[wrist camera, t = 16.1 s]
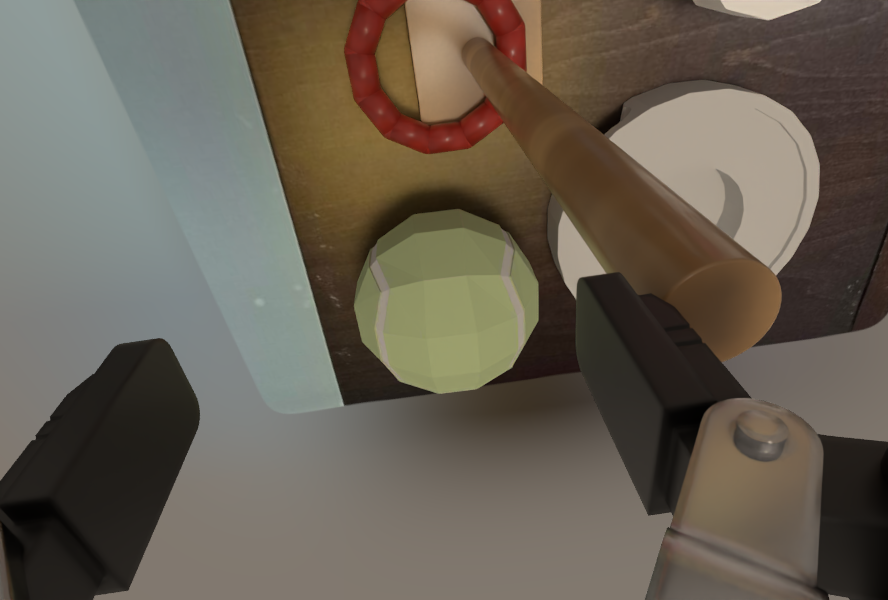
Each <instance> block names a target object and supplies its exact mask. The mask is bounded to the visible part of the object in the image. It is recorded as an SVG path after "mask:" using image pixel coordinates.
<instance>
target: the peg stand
mask: <svg viewBox="0 0 888 600" xmlns="http://www.w3.org/2000/svg"><path fill="white" fill-rule="evenodd" d="M512 2H513V3H514V5H515V7H516V9H517V10H518V12H519V14H520V15H521V17H522V19H523V21H524V23H525V30H526V59H527V72H525V71H524V70H523V69H522V68H521V67H519V66H518V65H517V64H516V63H514V62H513V61H512V60H511V59H509V58H508V57H507V56H506V55H504V54H503V53H502V52H501V51H499V50H498V49H497V48H496V36H495V35H494V33H493V31H492V30H491V28H490V27H489V25H488V23H487V22H486V20H485V19H484V17H483V15H482V14H481V12H480V11H479V9H478V7H477V6H475V5H473V4H471V3H469V2H467V1H465V0H407V1H406V2H405V3H404V4H405V11H406V18H407V25H408V32H409V39H410V46H411V53H412V60H413V67H414V74H415V81H416V88H417V95H418V102H419V109H420V116H421V122H423V123H425V124H427V125H435V124H443V123H450V122H457V121H460V120H462V119H463V118H464V117H465V116H467V115H468V114H469V113H470V112H472V111H473V110H474V109H476V108H477V107H478V106H479V105H481V104H482V103H483V102H484V101H485V99H486V97H487V98H488V100H489V101H490V103H491V104H492V106H493V107H494V109H495V110H496V112H497V113H498V115H499V116H500V118H501V119H502V120H503V122H504V123H505V125H506V126H507V128H508V129H509V131H510V132H511V134H512V135H513V137H514V138H515V140H516V141H517V143H518V144H519V146H520V147H521V148H522V150H523V151H524V153H525V154H526V156H527V157H528V159H529V160H530V162H531V163H532V165H533V166H534V168H535V169H536V171H537V172H538V174H539V175H540V177H541V178H542V179H543V181H544V182H545V184H546V185H547V187H548V188H549V190H550V191H551V193H552V194H553V196H554V197H555V199H556V200H557V202H558V203H559V205H560V206H561V207H562V209H563V210H564V212H565V213H566V215H567V216H568V218H569V219H570V221H571V222H572V224H573V225H574V227H575V228H576V230H577V231H578V233H579V234H580V236H581V237H582V238H583V240H584V241H585V243H586V244H587V246H588V247H589V249H590V250H591V252H592V253H593V255H594V256H595V258H596V259H597V261H598V262H599V264H600V265H601V266H602V268H603V269H604V271H605V272H606V274H607V273H614V272H620V273H621V274H622V275H623V276H624V277H625V279H626V280H627V281H628V283H629V284H630V285H631V287H632V288H633V289H634V291H635V292H636V293H637V295H643V294H650V293H652V294H653V295H655V296H657V297H659V298H660V299H662V300H664V301H666V302H667V303H669V304H671V305H673V306H674V307H675V308H676V309H677V310H678V311H679V312H680V314H681V315H682V316H683V317H684V318H685V319H686V321H687V322H688V323H689V324H690V328H693V329H694V330H695V331H696V333H697V334H698V335H699V336H700V337H701V339H702V343H706V344H707V346H708V347H709V348H710V349H711V350H712V352H713V353H714V354H715V355H716V356H717V358H718V359H719V360H720V361H721V362H724V361H726V360H729V359H731V358H733V357H735V356H737V355H739V354H741V353H743V352H744V351H746V350H747V349H749V348H750V347H752V346H753V345H754V344H755V343H757V342H758V341H759V340H760V339H761V338H762V337H763V336H764V335H765V334H766V332H767V331H768V330H769V329H770V327H771V326H772V324H773V323H774V321H775V319H776V317H777V315H778V312H779V309H780V305H781V297H782V293H781V287H780V284H779V281H778V279H777V277H776V275H775V274H774V273H773V272H772V270H771V269H770V268H768V267H767V266H766V265H765V264H763V263H762V262H761V261H760V260H758V259H757V258H756V257H755V256H753V255H752V254H751V253H750V252H749V251H747V250H746V249H745V248H744V247H742V246H741V245H740V244H739V243H737V242H736V241H735V240H734V239H732V238H731V237H730V236H729V235H727V234H726V233H725V232H724V231H722V230H721V229H720V228H719V227H718V226H716V225H715V224H714V223H713V222H711V221H710V220H709V219H708V218H706V217H705V216H704V215H703V214H701V213H700V212H699V211H698V210H696V209H695V208H694V207H693V206H692V205H690V204H689V203H688V202H687V201H685V200H684V199H683V198H682V197H680V196H679V195H678V194H677V193H675V192H674V191H673V190H672V189H670V188H669V187H668V186H667V185H665V184H664V183H663V182H662V181H661V180H659V179H658V178H657V177H656V176H654V175H653V174H652V173H651V172H649V171H648V170H647V169H646V168H644V167H643V166H642V165H641V164H639V163H638V162H637V161H636V160H635V159H633V158H632V157H631V156H630V155H628V154H627V153H626V152H625V151H623V150H622V149H621V148H620V147H618V146H617V145H616V144H615V143H613V142H612V141H611V140H610V139H609V138H607V137H606V136H605V135H604V134H602V133H601V132H600V131H599V130H597V129H596V128H595V127H594V126H592V125H591V124H590V123H589V122H587V121H586V120H585V119H584V118H582V117H581V116H580V115H579V114H578V113H576V112H575V111H574V110H573V109H571V108H570V107H569V106H568V105H566V104H565V103H564V102H563V101H561V100H560V99H559V98H558V97H556V96H555V95H554V94H553V93H552V92H550V91H549V90H548V89H547V88H545V87H544V86H543V72H542V20H541V0H512Z"/></svg>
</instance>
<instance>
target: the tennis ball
mask: <svg viewBox="0 0 888 600" xmlns="http://www.w3.org/2000/svg"><path fill="white" fill-rule="evenodd" d="M354 308H355V313H356V317H357V321H358V326H359V330H360V334H361V339H362V342H363V343H364V344H365V345H366V346H367V347H368V348H369V349H370V350H371V351H372V352H373V353H374V354H375V355H376V356H377V357H378V358H379V359H380V360H381V361H382V363H383V364H384V365H385V366H386V367H387V368H388V369H389V370H390V371H391V372H392V374H393V375H394V376H395V377H396V378H397V379H398V380H399V381H400V382H403V383H406V384H410V385H413V386H416V387H419V388H422V389H426V390H429V391H432V392H435V393H438V394H441V393H449V392H458V391H466V390H474V389H478V388H479V387H481V386H483V385H484V384H486V383H487V382H489V381H491V380H492V379H494V378H496V377H497V376H499V375H501V374H502V373H504V372H505V371H507V370H509V369H510V368H512V366H513V365H514V363H515V361H516V359H517V357H518V356H519V354H520V352H521V350H522V349H523V347H524V345H525V343H526V342H527V340H528V338H529V336H530V334H531V333H532V331H533V329H534V327H535V326H536V324H537V322H538V281H537V279H536V277H535V275H534V272H533V270H532V268H531V265H530V263H529V261H528V260H527V258H526V257H525V255H524V254H523V253H522V251H521V250H520V248H519V247H518V245H517V244H516V242H515V241H514V240H513V238H512V237H511V235H510V234H509V232H506V231H504V230H502V229H501V228H500V225H498V224H495V223H493V222H490V221H488V220H485V219H483V218H480V217H478V216H475V215H473V214H470V213H468V212H465V211H463V210H460V209H454V210H445V211H437V212H429V213H420V214H413V215H412V216H411V217H409V218H408V219H406V220H405V221H403V222H402V223H401V224H399V225H398V226H396V227H395V228H394V229H392V230H391V231H389V232H388V233H387V234H385V235H384V236H382V237H381V238H380V239H378V240H377V244H376V245H375V246H374V247H373V248H371V249H370V251H369V254H368V256H367V259H366V261H365V264H364V267H363V269H362V272H361V274H360V277H359V279H358V282H357V287H356V294H355V301H354Z"/></svg>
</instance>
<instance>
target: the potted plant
mask: <svg viewBox="0 0 888 600" xmlns="http://www.w3.org/2000/svg"><path fill="white" fill-rule="evenodd" d="M820 1H821V0H693V2H694V3H695V5H696V6H700V7H704V8H708V9H711V10H715V11H719V12H723V13H727V14H730V15H734V16H741V17H748V18H755V19H763V20H771V19H774V18H777V17H780V16H783V15H785V14H788V13H791V12H794V11H797V10H800V9H803V8H806V7H808V6H811V5H814V4H817V3H819V2H820Z"/></svg>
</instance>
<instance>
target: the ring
mask: <svg viewBox="0 0 888 600" xmlns="http://www.w3.org/2000/svg"><path fill="white" fill-rule="evenodd" d="M406 1H407V0H358V2H357V6H356V9H355V13H354V16H353V19H352V23H351V26H350V30H349V33H348V36H347V40H346V43H345V47H344V53H345V58H346V63H347V68H348V73H349V78H350V83H351V87H352V92H353V97H354V100H355V102H356V103H357V105H358V106H359V107H360V108H361V109H362V111H363V112H364V113H365V114H366V116H367V117H368V118H369V119H370V120H371V122H372V123H373V124H374V125H375V127H376V128H377V129H378V130H379V131H380V133H381V134H382V135H383V136H384V137H385V138H387V139H389V140H391V141H394V142H396V143H399V144H401V145H404V146H406V147H409V148H411V149H414V150H416V151H419V152H421V153H424V154H434V153H441V152H448V151H455V150H462V149H468V148H471V147H472V146H474V145H475V144H476V143H478V142H479V141H480V140H482V139H483V138H484V137H486V136H487V135H488V134H489V133H491V132H492V131H493V130H495V129H496V128H497V127H499V126H500V125H501V124H503V123H504V122H503V120H502V119H501V118H500V116H499V115H498V113H497V112H496V110H495V109H494V107H493V106H492V104H491V103H490V101H489V100H488V98H487V97H486V99H485V101H484V102H483V103H482V104H481V105H479V106H478V107H477V108H476V109H474V110H473V111H472V112H470V113H469V114H468V115H467V116H465V117H464V118H463V119H462V120H460V121H457V122H450V123H443V124H435V125H427V124H425V123H423V122H420V121H418V120H415V119H413V118H411V117H408V116H406V115H403V114H401V113H400V112H399V110H398V109H397V108H396V106H395V105H394V104H393V103H392V101H391V100H390V99H389V97H388V96H387V95H386V94H385V92H384V91H383V90H382V88H381V85H380V79H379V74H378V68H377V63H376V57H375V52H376V49H377V46H378V43H379V39H380V36H381V33H382V30H383V27H384V24H385V21H386V19H387V18H388V17H389V16H391V15H392V14H393V13H394V12H395V11H396V10H397V9H398V8H399V7H401V6H402V5H403V4H404V3H405V2H406ZM465 1H467V2H469V3H471V4H473V5H475V6H477V7H478V9H479V11H480V12H481V14H482V15H483V17H484V19H485V20H486V22H487V23H488V25H489V27H490V28H491V30H492V31H493V33H494V35H495V36H496V48H497V49H498V50H499V51H501V52H502V53H503V54H504V55H506V56H507V57H508V58H509V59H511V60H512V61H513V62H514V63H516V64H517V65H518V66H519V67H521V68H522V69H523V70H524V71H525V72H527V59H526V30H525V23H524V21H523V19H522V17H521V15H520V14H519V12H518V10H517V9H516V7H515V5H514V3H513V2H512V0H465Z"/></svg>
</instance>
